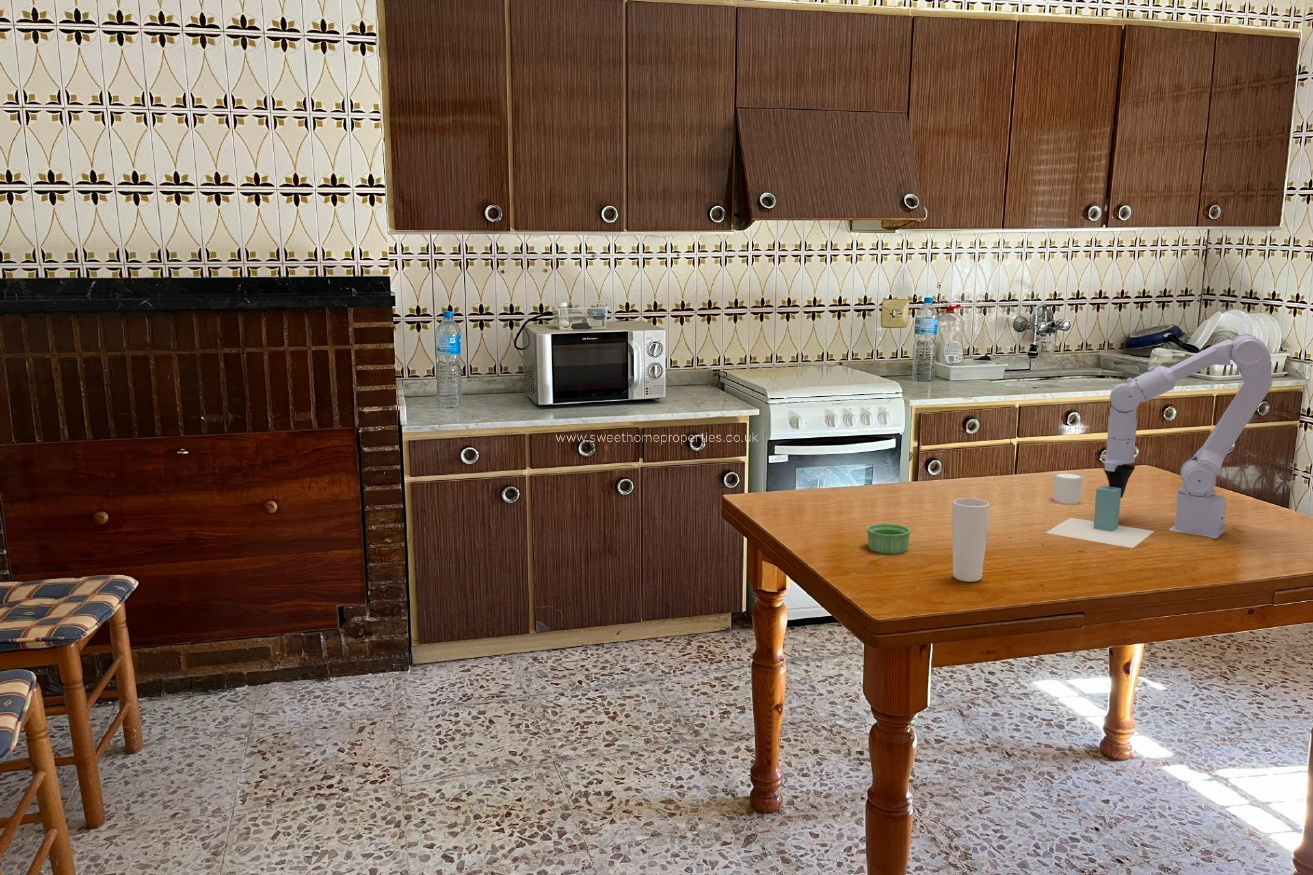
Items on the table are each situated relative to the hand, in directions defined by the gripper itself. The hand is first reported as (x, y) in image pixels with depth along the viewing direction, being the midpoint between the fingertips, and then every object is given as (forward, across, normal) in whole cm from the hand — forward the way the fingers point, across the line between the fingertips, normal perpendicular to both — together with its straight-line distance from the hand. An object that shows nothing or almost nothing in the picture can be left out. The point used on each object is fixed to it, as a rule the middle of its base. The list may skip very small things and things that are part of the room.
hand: (1116, 497), depth 228 cm
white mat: (+6, +10, 0) cm, 12 cm away
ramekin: (+7, +48, -31) cm, 58 cm away
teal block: (+6, +6, 0) cm, 9 cm away
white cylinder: (+7, -12, -15) cm, 21 cm away
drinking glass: (+7, +56, -10) cm, 58 cm away
